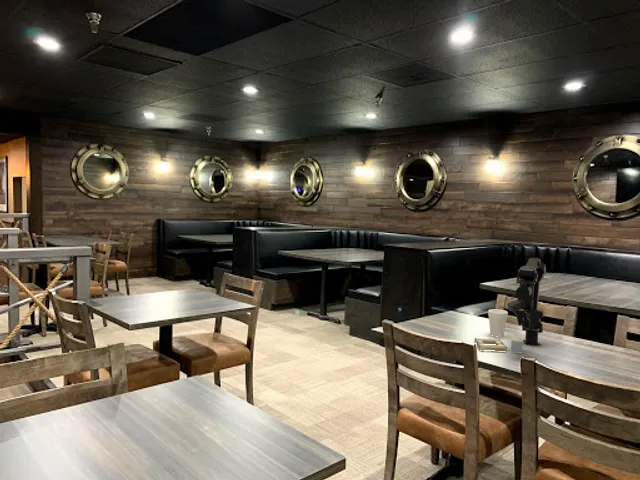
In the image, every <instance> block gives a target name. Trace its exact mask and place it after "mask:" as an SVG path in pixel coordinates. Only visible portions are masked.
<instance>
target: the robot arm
mask: <svg viewBox="0 0 640 480" xmlns="http://www.w3.org/2000/svg"><path fill="white" fill-rule="evenodd" d="M546 272H547V268H546V263H544V262H542V261H541V259H540V258H538V257H530V258H528V261H527V263H526V265H523V266H520V268H519V269H518V270H517V275H516V282H515V283H516V284H519V286H518V287H517V288H516V289H515V295H516V299H515V300H512V301H510V302H507V303H506V306H507V310H508V311H510V312H511V313H514V314H515V317H516V322H517V325H518V326H521V330H522V332H525V338H524V339H522V340H523V343H524V344H526V345H528V344H529V346H531V345H533V346H534V345H535V346H540V345H541V343H540V341H539V334H543V333H544V327H543V325H544V324H543V323H542V321H541V319H542V318H544V312H543V311H542V310H539V309H538V308H539V298H540V297H539V295H540V284H541V282H542V281H543V280H544V278H545V275H546Z"/></svg>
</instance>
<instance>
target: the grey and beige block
mask: <svg viewBox="0 0 640 480" xmlns="http://www.w3.org/2000/svg"><path fill="white" fill-rule="evenodd" d="M523 340H524V339H522V338H521V337H511V344H510V350H511V349H512V351H513V352H522V353H523V347H524V345H523V344H524V341H523ZM512 351H511V352H512ZM513 352H512V353H513Z"/></svg>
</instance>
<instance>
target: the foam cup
mask: <svg viewBox="0 0 640 480" xmlns="http://www.w3.org/2000/svg"><path fill="white" fill-rule="evenodd" d="M508 315H509V312H508V311H507V310H504V309H496V308H494V309H492V308H491V309H488V313H487V316H488V320H489V321H488V323H489V333H490V336H491V335H493V336H498V337H500V338H502V337H501V336H503V337H504V335H505V330H506V326H507V325H506V323H507V319H508ZM493 336H492V337H493ZM498 337H497V338H498Z"/></svg>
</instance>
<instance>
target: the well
mask: <svg viewBox="0 0 640 480" xmlns="http://www.w3.org/2000/svg"><path fill="white" fill-rule="evenodd" d="M475 342H476V343H477V346H478V347H477V346H476V347H477V349H478V348H479V349H480V350H495V351H508V347H507V346H506V344H505V343H504V342H503V341H502V340H501V338H478V337H474V343H475ZM484 344H496V345H484ZM479 349H478V350H479Z"/></svg>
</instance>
